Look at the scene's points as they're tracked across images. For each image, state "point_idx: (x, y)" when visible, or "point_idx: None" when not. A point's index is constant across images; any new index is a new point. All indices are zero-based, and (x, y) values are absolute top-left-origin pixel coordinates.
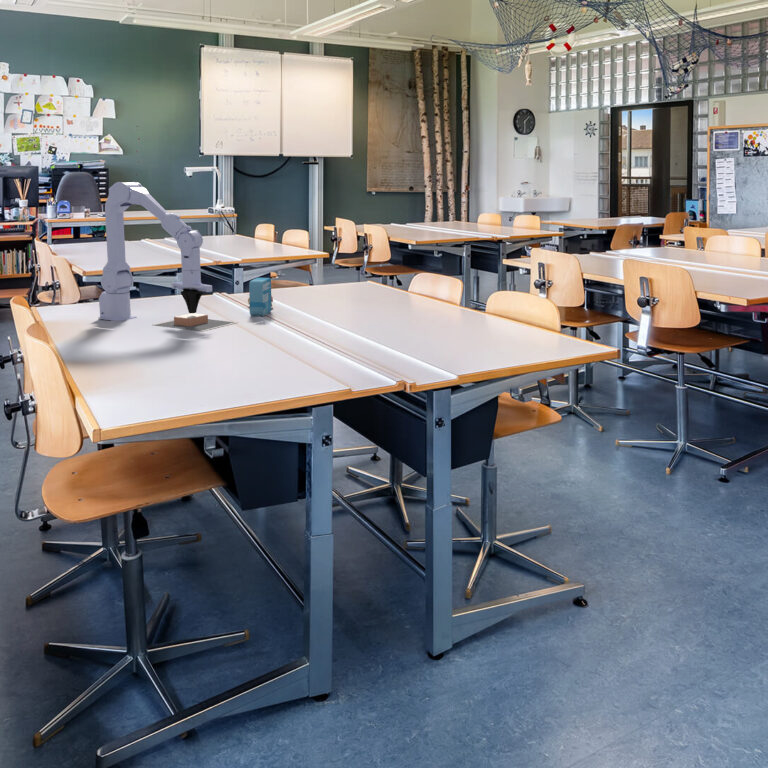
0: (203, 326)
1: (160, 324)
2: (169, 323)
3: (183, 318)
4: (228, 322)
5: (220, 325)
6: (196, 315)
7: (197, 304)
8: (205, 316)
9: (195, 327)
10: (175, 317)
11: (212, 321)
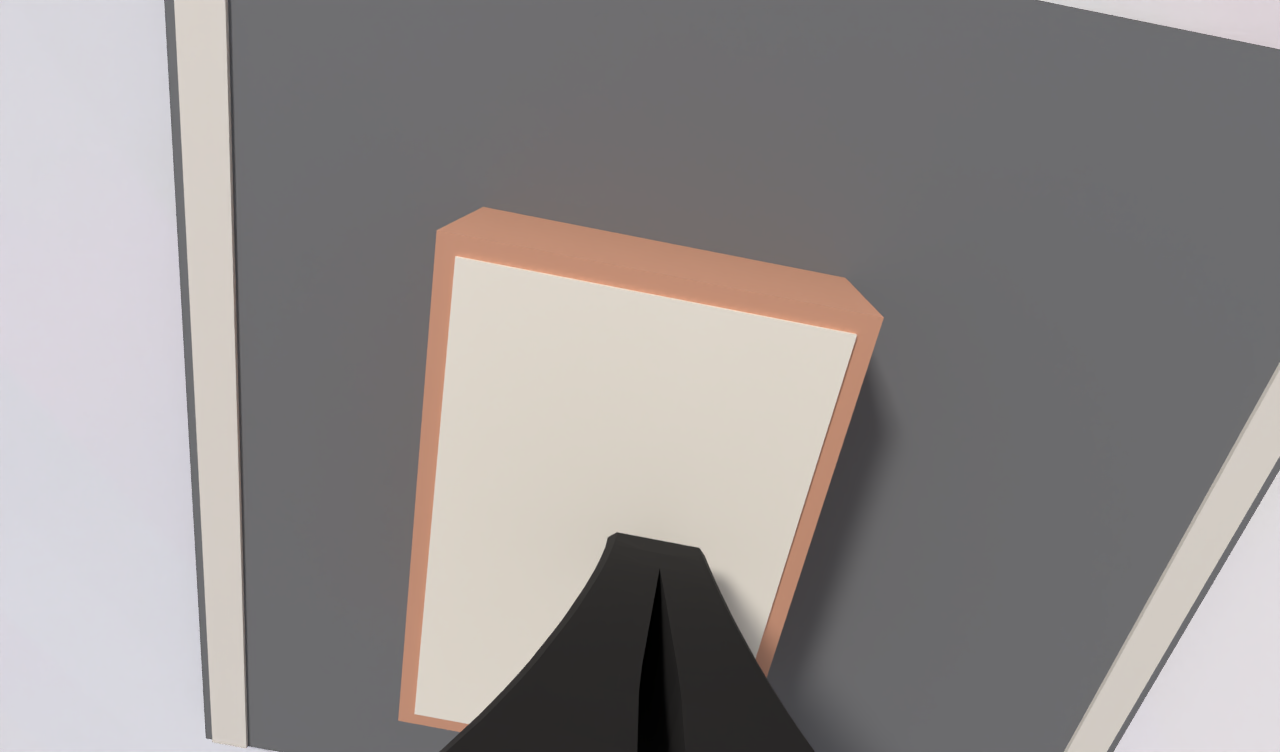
0: (918, 633)
1: (279, 683)
2: (334, 591)
3: None
4: (1269, 156)
5: (1171, 485)
6: (695, 497)
7: (753, 681)
8: (852, 387)
9: (834, 720)
10: (433, 720)
11: (903, 176)
